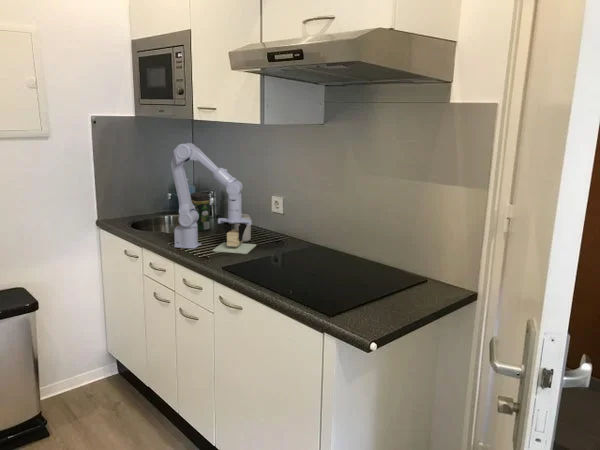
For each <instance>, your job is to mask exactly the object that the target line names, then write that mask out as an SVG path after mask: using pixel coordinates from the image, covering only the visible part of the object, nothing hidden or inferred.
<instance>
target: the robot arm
mask: <svg viewBox="0 0 600 450" xmlns="http://www.w3.org/2000/svg"><path fill="white" fill-rule="evenodd" d="M189 161H195V162H198V163H199V164H201V165H202V166H203V167H204V168H205V169H207V170H209V172H211V173H212V177H213V179H214V180H215V181H217V183H218V184H219V185H220V186H222V188H224V189H225V190H226V193H227V217H218V218H217V224H223V225H222V229H223V230H224V232H225V234H226V235H227V233H228V232H229V231H231V230H232V225H234V224H240V225H239V226H238V228H239V241H242V238H243V234H244V231H245V229H246V227H247V225H251V226H252V225H253V221H252V219H251V220H247V219H242V214H243V213H242V211H243V210H242V203H243V201H242V199H243V198H242V191H243V189H244V188H243V187H244V186H243V183H242V182H241V180H238V179H236V177H233V176H232V175H231V174H230V173H229V172H228V169H227V168H223V167H218V166H217V165H216V164H215V162H213V161H212V160H211V159H210V158H209V157H208V156H207V155H206V154H205V153H204V152H203V151H202V150H201V149H200V148H199V147H198V146H196V145H195V144H194V143H192V142H187V143H180V144H178V145H177V146H176V147H175V148H174V150H173V154H172V158H171V162H170V168H171V172H172V173H171V174H172V177H173V182H174V186H175V190H176V195H177V199H178V204H179V208H178V220H177V221H178V223H179V225H177V226H175V229H174V233H173V234H174V246H173V247H174V248H180V249H181V248H182V249H196V248H198V247H200V246H202V243H201V242H199V238H198V237H199V235H198V234H199V232H198V225H197V223H196V222H197V221H198V219H199V214H198V212H197V211H196V209H195V206H194V205H193V203H192V201H191V193H190V188H189V184H188V183H189V182H188V179H187V175H186V174H187V173H186V170H185V167H186V165H187V164H188V162H189Z"/></svg>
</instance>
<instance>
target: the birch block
mask: <svg viewBox="0 0 600 450" xmlns="http://www.w3.org/2000/svg"><path fill="white" fill-rule="evenodd" d="M226 242H227V246H236V247H237V246H238V245H240V244H241V243H244V242H243V238H242V241H239V229H234V228H233V229H232V228H231V231H229V232H228V233H227V234H226Z"/></svg>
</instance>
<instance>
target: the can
mask: <svg viewBox="0 0 600 450" xmlns="http://www.w3.org/2000/svg"><path fill="white" fill-rule="evenodd" d="M242 219H247V220H252V218H251V217H250V215H249V214H247V213H242ZM233 225H234V227H233V229H239V228H238V226H239V225H240V224H233ZM251 234H252V225H247V227H246V229H245V231H244V234H243V242H242V243H246V242H249V241H250V240H252V235H251Z"/></svg>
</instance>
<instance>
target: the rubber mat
mask: <svg viewBox="0 0 600 450" xmlns="http://www.w3.org/2000/svg"><path fill="white" fill-rule="evenodd" d="M256 246H257V244H255V243H245V242H242V243H241V244H240V245H238V246H237V247H236V246H227V241H226V242H225V241H223V242H222V243H221V244H219V245H218V246H216V247H215V248H213V249H212V252H215V253H216V252H219V253H233V254H243V255H247V254H248V253H250V252H251V251H252V250H253V249H254V248H255V247H256Z"/></svg>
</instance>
